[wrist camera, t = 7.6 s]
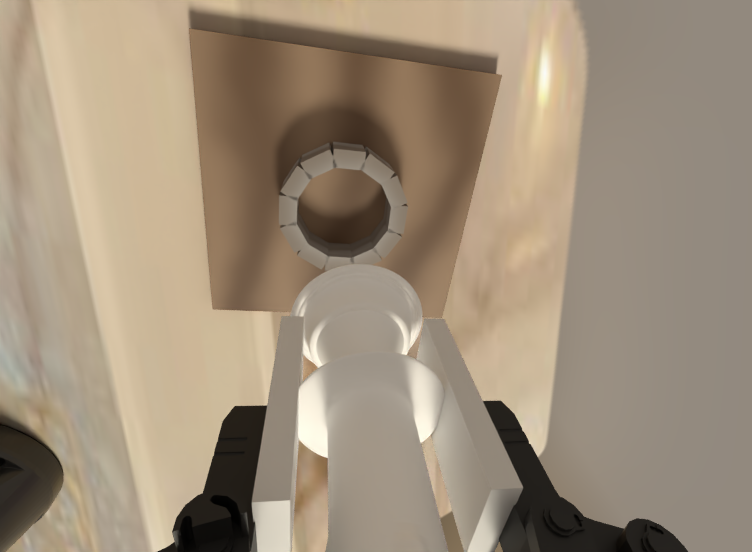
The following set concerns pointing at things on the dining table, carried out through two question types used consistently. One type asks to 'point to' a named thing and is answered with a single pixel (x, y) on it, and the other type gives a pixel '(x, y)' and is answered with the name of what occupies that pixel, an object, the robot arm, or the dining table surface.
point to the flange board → (340, 200)
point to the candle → (370, 409)
